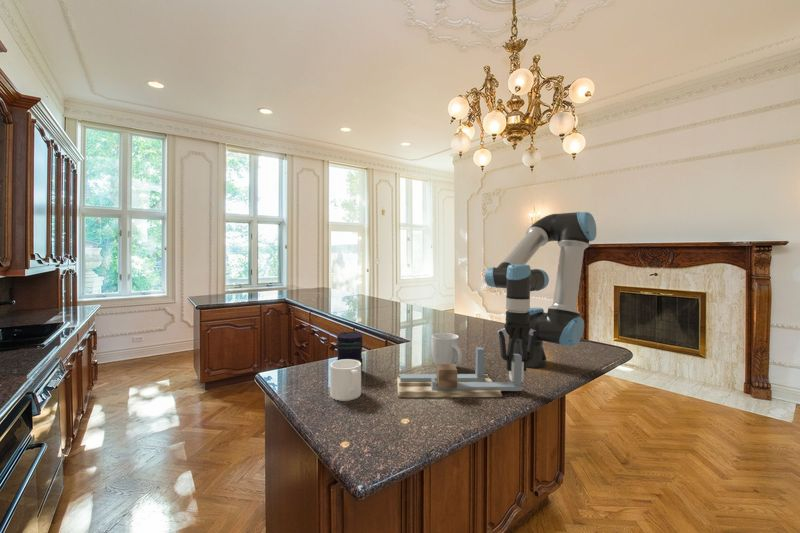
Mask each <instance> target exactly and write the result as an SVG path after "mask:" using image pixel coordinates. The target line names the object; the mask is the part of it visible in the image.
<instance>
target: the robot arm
mask: <svg viewBox="0 0 800 533" xmlns="http://www.w3.org/2000/svg"><path fill="white" fill-rule="evenodd" d="M596 238H597V223H596V220H595V218H594V216H593V214H592V213H590V212H589V211H576V212H564V213H562V212H561V213H551V214H548V215H545V216H544V217H542V218H540V219H538V220H537V221H535V222H534V223H533V224H532V225H531V226H530V227H529V228H528V229H527V230H526V232H525V236H524V237H523V238H522V239H521V240H520V241H519V242H518V243H517V244H516V246H515V247H514V248H513V249H512V250H511V251H510V253H508V255H507V256H506V257H504V259H503V260H502V261H501V262H500V264H498V266H497V267H495V266H493V267H489V268H487V269H486V271H485V272H484V281H485V284H486V285H487V286H488V287H493V288H497V289H498V288H499V289H506V297H505V299H506V300H505V309H506V311H505V325H504V327H503V328H501V329H497V330H496V333H497V335H498V338H499V347H500V348H499V349H500V357H501V358H502V359H503V360H504V361H506V370H507V371H508V379H509V381H510V382H511V381H512V382H514V362H513V361H512V358H513V354H519V355H521V356H522V371H521V383H522V382H524V372H526V371H527V368H534V369H535V368H542V367H543V368H544V367H545V366H547V364H548V363H547V362H548V359H547V355H546V353H545V348H544V344H543V342H546V343H550V344H554V345H560V346H567V347H574V346H576V345H578V344H579V342H580V340H582V337H583V334H584V332H585V331H584V330H585V321H584V319H583V318H582V317H581V316H580V315H581V312H579V310H578V309H577V304H578V296H579V290H580V283H581V282H580V281H581V275H582V268H583V261H584V260H583V259H584V253H585V250H586V249H587V248H589V246H590V242H593V241H594V240H596ZM549 242H557V245H558V246H559V248H560V251H559V258H558V267H557V272H556V279H555V287H554V292H553V301H552V305H550V306H549V307H547V312H545V309H544V308H543V307H531V292H534V291H535V292H539V291H541V290H544V289H545V288H547V286H548V285H549V282H550V278H549V275H548V273H547V272H546V271H545V270H543V269H539V268H533V269H532V267H531V266H530V265H529V264H528V262H529V261H530V260H531V258H533V256H534V255H535V254H536V252H538V250H539V249H540V247H543V246H545V245H546V244H547V243H549ZM506 334H507V335H508V342H507V345H506V337H505V336H506ZM506 346H507V347H506Z"/></svg>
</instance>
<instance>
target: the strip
mask: <svg viewBox="0 0 800 533" xmlns="http://www.w3.org/2000/svg"><path fill="white" fill-rule="evenodd" d="M512 361H513V362H514V382H512V381H511V380H510V381H492V382H457V388H439V387H438V384H437V382H435V379H434V378H431V388H432V391H486V390H500V391H501V392H504V391H505V392H521V391H522V392H523V388H524V387H523V385H522V382H521V371H522V356H521V355H519V354H513V358H512Z"/></svg>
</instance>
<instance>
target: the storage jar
mask: <svg viewBox="0 0 800 533" xmlns="http://www.w3.org/2000/svg"><path fill="white" fill-rule="evenodd" d="M363 344H364V343H363V333H361V332H357V331H347V332H346V331H345V332H344V331H343V332H339V333H338V334H336V350H337V359H336V361H337V360H342V359H352V360H357V361H360V362H361V375H362V374H363V364H364V363H363V358H362V354H363V352H362V350H363Z"/></svg>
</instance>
